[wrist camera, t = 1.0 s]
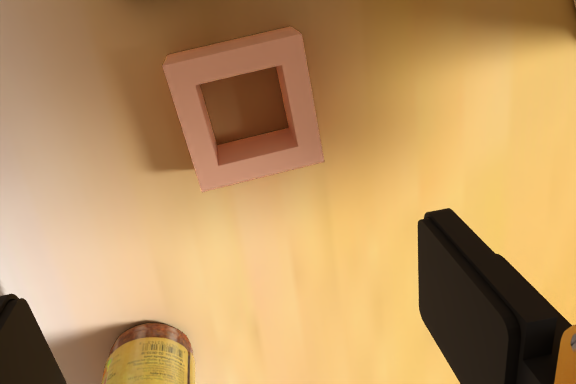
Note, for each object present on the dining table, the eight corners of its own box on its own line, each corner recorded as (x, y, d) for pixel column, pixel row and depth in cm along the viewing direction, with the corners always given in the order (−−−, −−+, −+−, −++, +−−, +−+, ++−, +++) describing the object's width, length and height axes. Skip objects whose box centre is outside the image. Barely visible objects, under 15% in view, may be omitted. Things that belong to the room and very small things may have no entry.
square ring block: (290, 26, 27) (301, 33, 24) (312, 141, 30) (324, 161, 27) (167, 54, 27) (162, 65, 24) (202, 168, 30) (201, 192, 27)
